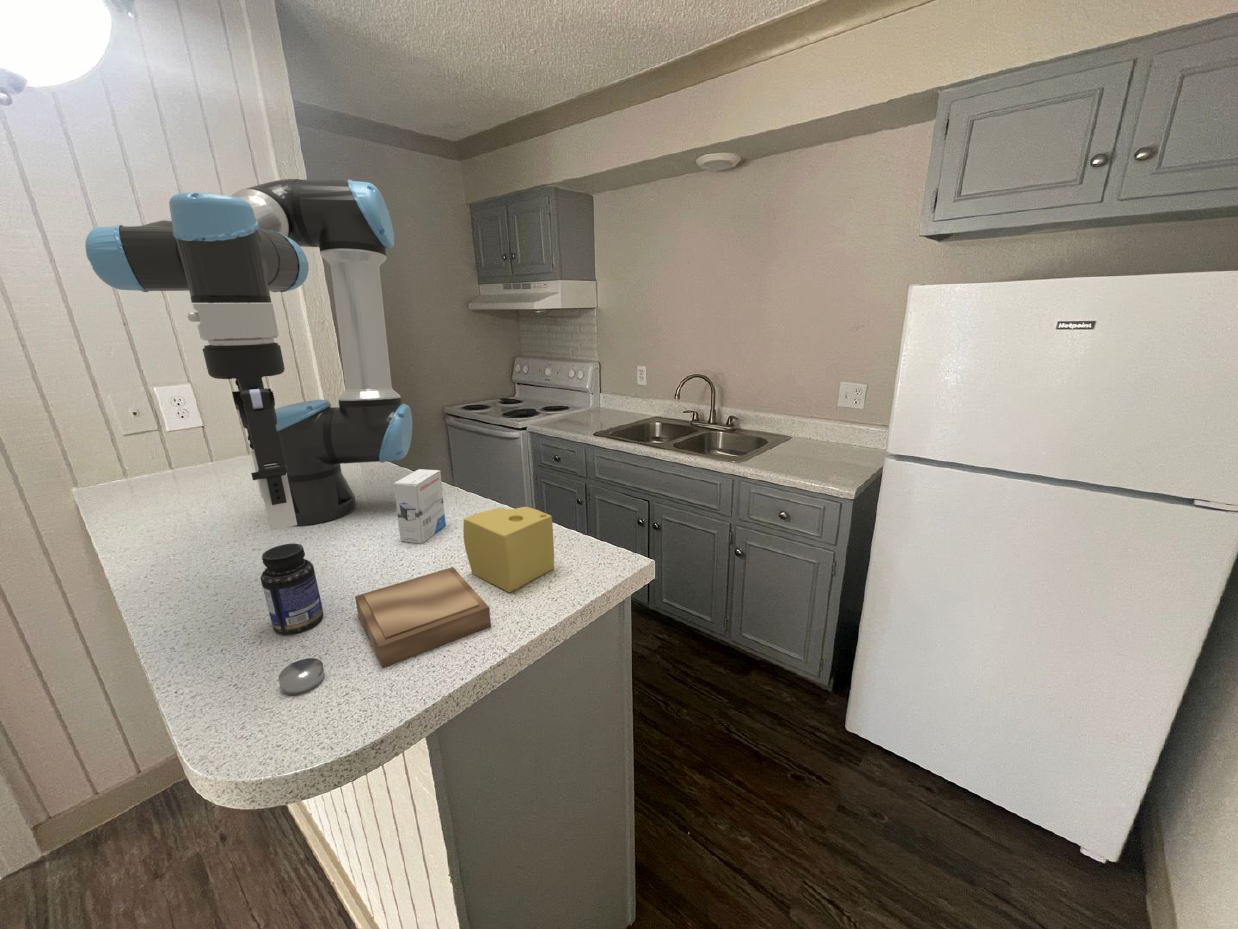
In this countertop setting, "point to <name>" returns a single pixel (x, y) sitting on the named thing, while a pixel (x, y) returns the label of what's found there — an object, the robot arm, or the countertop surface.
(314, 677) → the grey metal puck
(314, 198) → the robot arm
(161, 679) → the countertop surface
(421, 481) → the ink box
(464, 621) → the walnut stand
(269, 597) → the pill bottle
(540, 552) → the cheese
